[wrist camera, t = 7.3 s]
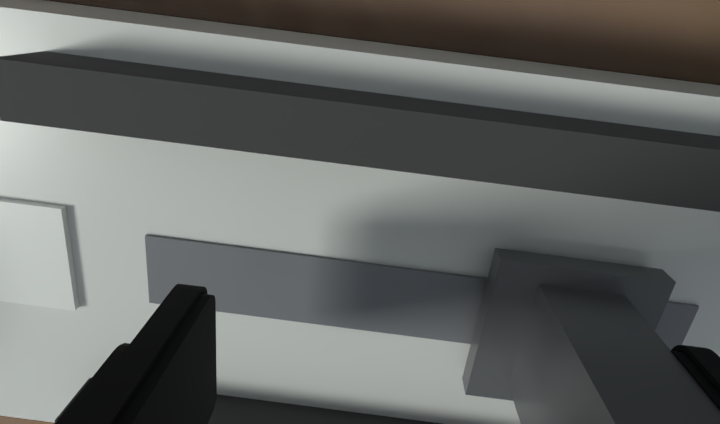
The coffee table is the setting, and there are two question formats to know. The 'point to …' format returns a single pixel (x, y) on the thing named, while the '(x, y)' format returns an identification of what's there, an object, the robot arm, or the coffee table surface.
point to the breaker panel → (309, 225)
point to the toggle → (579, 344)
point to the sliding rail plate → (357, 146)
